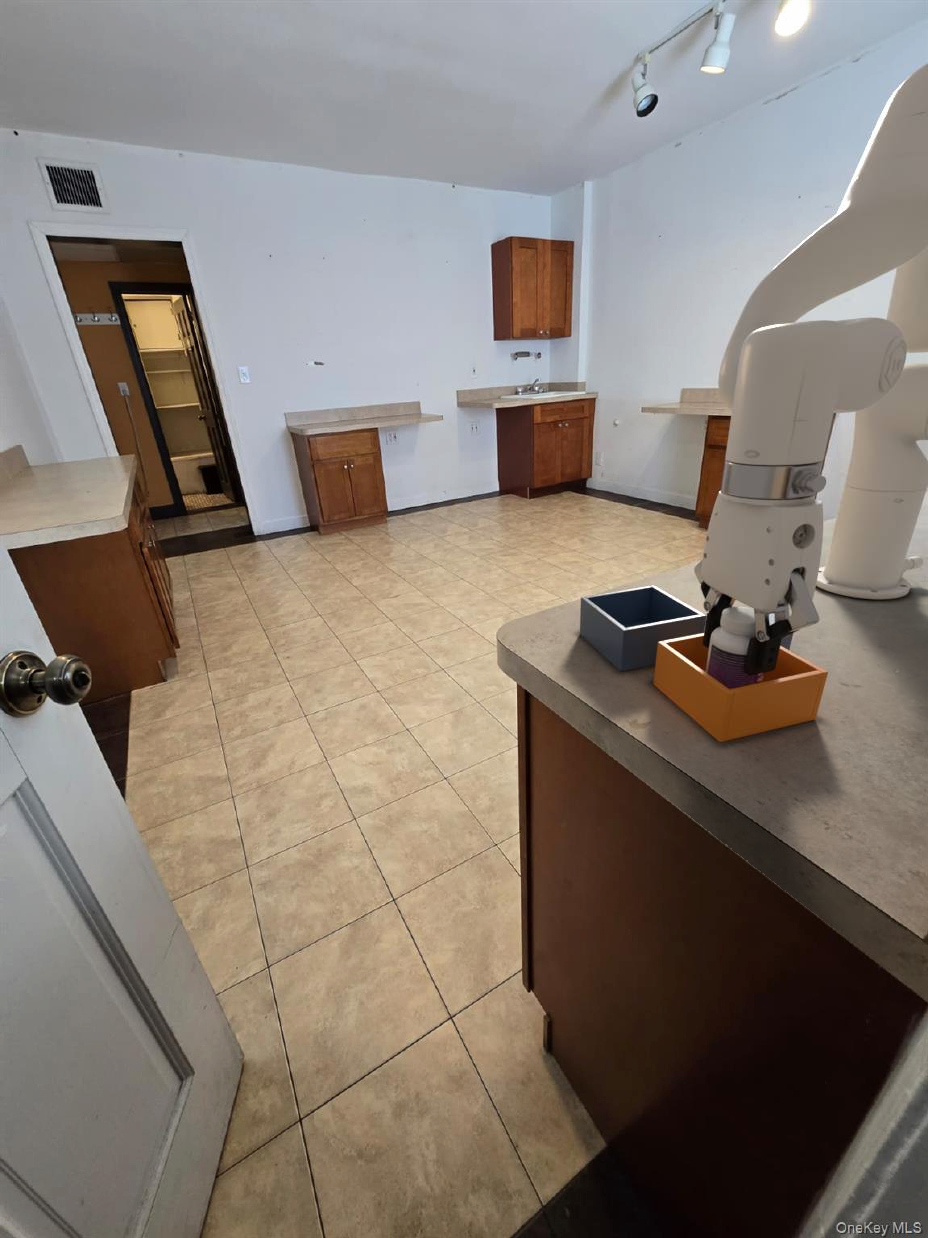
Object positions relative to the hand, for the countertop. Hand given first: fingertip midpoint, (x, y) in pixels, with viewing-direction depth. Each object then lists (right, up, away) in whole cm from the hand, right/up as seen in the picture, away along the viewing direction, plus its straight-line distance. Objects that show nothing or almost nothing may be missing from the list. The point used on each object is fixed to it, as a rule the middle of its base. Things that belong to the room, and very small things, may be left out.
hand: (737, 656), depth 53 cm
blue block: (+9, 0, +12) cm, 15 cm away
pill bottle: (0, -5, +2) cm, 5 cm away
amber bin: (0, -5, +2) cm, 5 cm away
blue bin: (-5, 0, +15) cm, 16 cm away
